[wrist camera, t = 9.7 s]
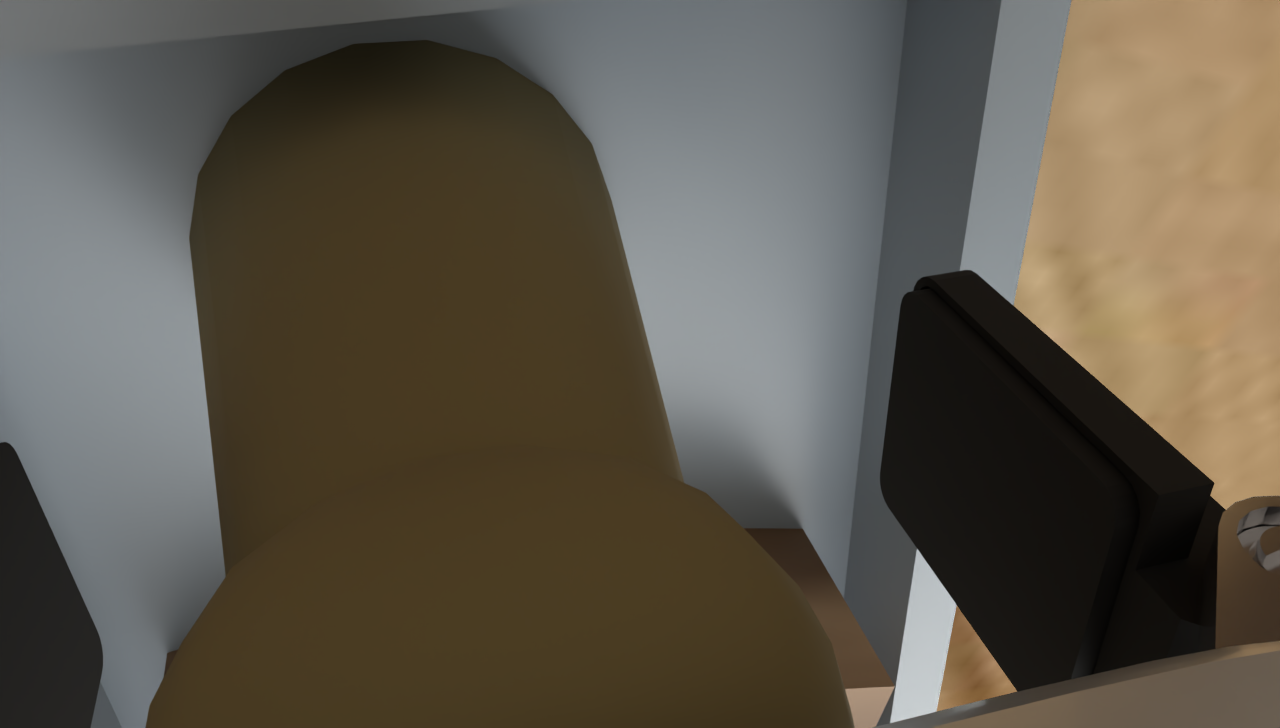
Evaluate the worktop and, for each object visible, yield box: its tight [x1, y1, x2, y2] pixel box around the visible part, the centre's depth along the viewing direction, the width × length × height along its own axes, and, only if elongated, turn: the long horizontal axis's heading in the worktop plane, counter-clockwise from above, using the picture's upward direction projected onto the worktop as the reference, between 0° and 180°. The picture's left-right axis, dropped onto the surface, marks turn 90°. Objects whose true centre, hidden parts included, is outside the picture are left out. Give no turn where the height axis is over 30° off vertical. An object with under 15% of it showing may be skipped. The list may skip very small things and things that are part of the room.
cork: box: [145, 40, 855, 728], centre depth 11 cm, size 6×6×11 cm
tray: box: [0, 0, 1071, 728], centre depth 17 cm, size 18×16×3 cm
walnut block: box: [744, 528, 895, 728], centre depth 19 cm, size 4×4×4 cm
